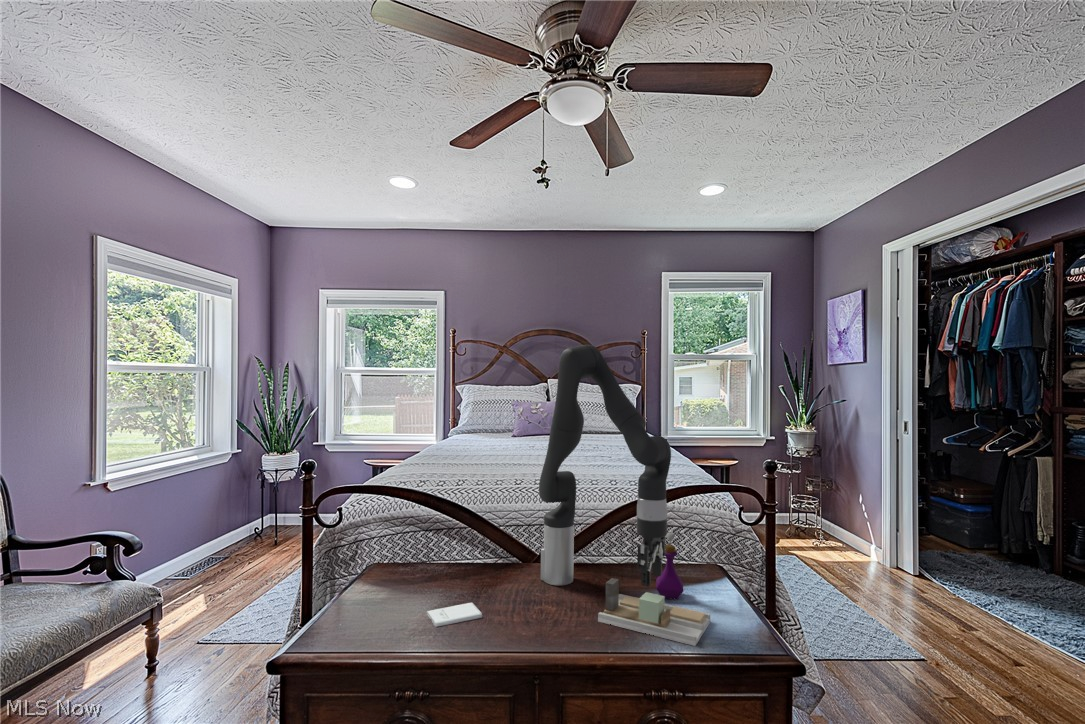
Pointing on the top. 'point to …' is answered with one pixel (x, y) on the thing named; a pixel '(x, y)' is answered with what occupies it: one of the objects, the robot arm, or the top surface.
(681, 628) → the lane board
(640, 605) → the block
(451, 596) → the top surface
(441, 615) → the external hard drive
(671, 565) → the perfume bottle
